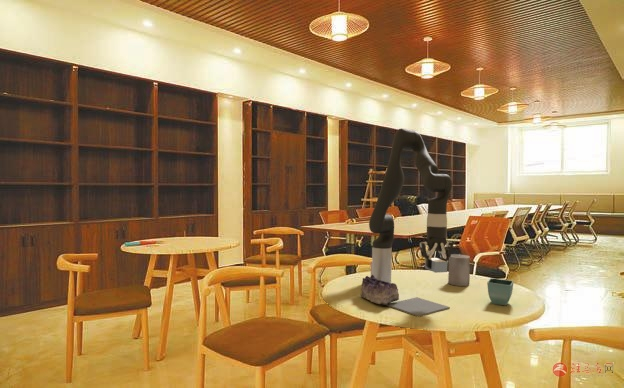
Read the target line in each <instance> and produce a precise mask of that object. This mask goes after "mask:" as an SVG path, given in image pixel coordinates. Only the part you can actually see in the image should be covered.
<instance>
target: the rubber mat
mask: <svg viewBox="0 0 624 388" xmlns="http://www.w3.org/2000/svg"><path fill="white" fill-rule="evenodd" d="M385 306H387V307H389V308H391V309H394V310H398V311H401V312H404V313H407V314H409V315H412V316H414V315H415V316H414V317H417V316H418V317H419V316H420V317H423V315H424V316H427V315H430V314H434V313H438V312H442V311H445V310H450V306H448V305H444V304H441V303H438V302H434V301H431V300H428V299H425V298H421V297H418V296H416V297H412V298H407V299H403V300H397V301H394V302H391V303H389V304H387V305H385Z"/></svg>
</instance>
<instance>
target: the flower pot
mask: <svg viewBox="0 0 624 388" xmlns="http://www.w3.org/2000/svg"><path fill="white" fill-rule="evenodd" d="M486 284H487V295H488V297H489V300H490V302H491V303H492V304H493V305H500V306H507V305H508V303H509V301H510V299H511V297H512V294H513V290H514V289H513V287H514V280H508V279H499V278H494V277H493V278H492V277H490V278H489V279H488V281H487V283H486Z"/></svg>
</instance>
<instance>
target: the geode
mask: <svg viewBox="0 0 624 388" xmlns="http://www.w3.org/2000/svg"><path fill="white" fill-rule="evenodd" d="M361 282H362V283H361V293H360V297H361V298H362V299H363V298H364V299H366V300H368V301H370V302H371V303H375V304H378V305H382V306H386V305H387V304H389V303H394V302H398V301H400V293H399V288H398V285H397V284H396V283H393V282H391V283H389V282H384V281H381V280H378V279H377V278H375V277H374V276H373V275H372V276H371V275H370V276H368V275H365V277H362V281H361Z"/></svg>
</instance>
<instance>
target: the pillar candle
mask: <svg viewBox="0 0 624 388" xmlns="http://www.w3.org/2000/svg"><path fill="white" fill-rule="evenodd" d="M470 267H471V257H470V255H467V254H462V253H460V252H459V254H457V253H453V254H452V253H451V256H450V257H448V276H447V278H448V281H447V283H448V285H452V286H455V287H468V286H470V279H471V278H470V277H471V275H470V272H471V271H470V270H471V268H470Z"/></svg>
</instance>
